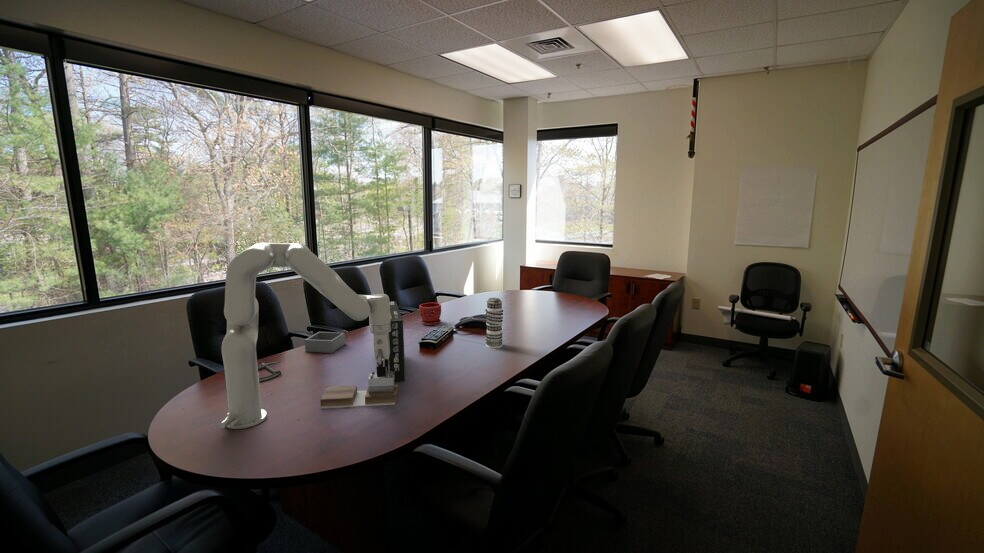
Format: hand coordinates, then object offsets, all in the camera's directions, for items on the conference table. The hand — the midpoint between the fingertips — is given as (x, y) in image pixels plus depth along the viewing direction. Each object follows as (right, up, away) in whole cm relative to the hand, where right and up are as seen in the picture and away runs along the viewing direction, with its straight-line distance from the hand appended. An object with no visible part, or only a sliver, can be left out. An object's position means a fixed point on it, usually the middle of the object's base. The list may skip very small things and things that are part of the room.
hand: (382, 371), depth 166 cm
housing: (-1, -7, +1) cm, 7 cm away
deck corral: (-43, 0, +58) cm, 72 cm away
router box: (-5, -5, +32) cm, 33 cm away
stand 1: (-16, -10, -1) cm, 19 cm away
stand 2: (-1, -10, +2) cm, 10 cm away
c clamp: (-57, -7, +25) cm, 62 cm away
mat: (-8, -10, 0) cm, 13 cm away
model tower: (+42, -1, +63) cm, 76 cm away
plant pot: (+3, +7, +104) cm, 104 cm away
